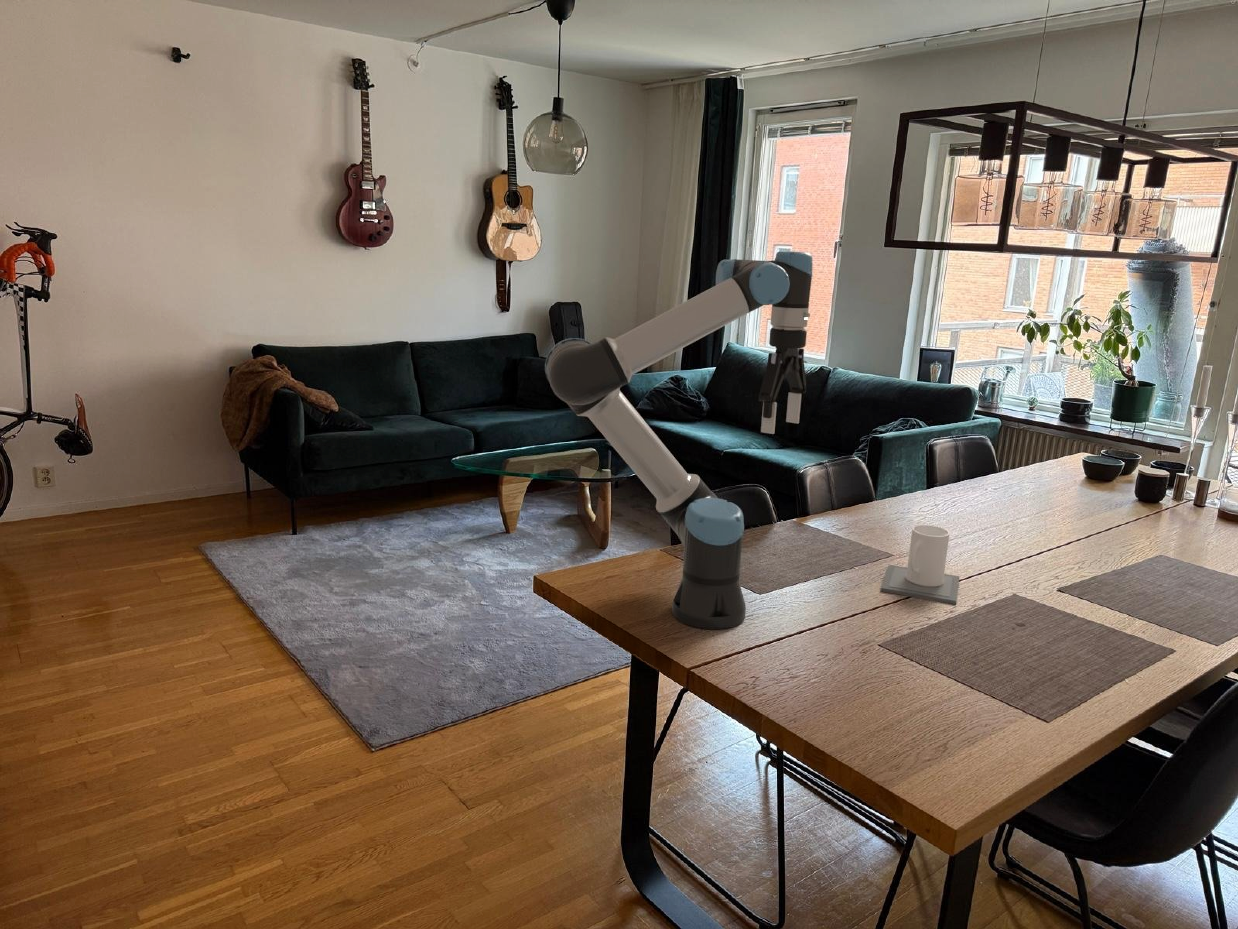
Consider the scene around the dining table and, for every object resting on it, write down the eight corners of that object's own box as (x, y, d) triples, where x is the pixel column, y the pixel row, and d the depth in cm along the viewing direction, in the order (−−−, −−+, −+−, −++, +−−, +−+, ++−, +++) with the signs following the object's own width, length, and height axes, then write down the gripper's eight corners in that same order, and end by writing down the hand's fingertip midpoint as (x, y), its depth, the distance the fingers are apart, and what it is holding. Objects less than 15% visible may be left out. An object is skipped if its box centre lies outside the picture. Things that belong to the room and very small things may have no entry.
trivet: (956, 604, 193) (956, 600, 193) (880, 591, 199) (880, 587, 199) (959, 579, 207) (959, 576, 207) (888, 567, 213) (888, 564, 213)
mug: (921, 593, 196) (928, 542, 193) (889, 580, 202) (895, 531, 199) (951, 581, 203) (958, 532, 200) (918, 570, 210) (925, 522, 207)
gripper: (782, 333, 172) (773, 440, 177) (826, 325, 192) (817, 420, 198) (746, 330, 176) (739, 434, 181) (794, 322, 196) (786, 416, 201)
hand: (780, 427), depth 189 cm, fingers open, 13 cm apart
